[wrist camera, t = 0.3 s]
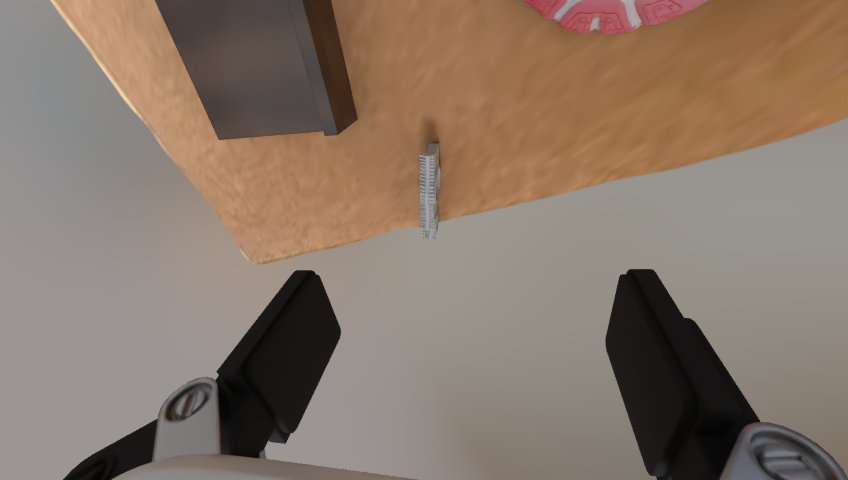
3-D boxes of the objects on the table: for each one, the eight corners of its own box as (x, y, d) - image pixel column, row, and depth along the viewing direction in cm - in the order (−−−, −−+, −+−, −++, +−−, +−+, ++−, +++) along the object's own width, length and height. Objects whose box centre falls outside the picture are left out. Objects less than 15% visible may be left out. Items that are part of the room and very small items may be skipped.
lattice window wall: (439, 228, 46) (432, 253, 41) (426, 226, 46) (418, 252, 41) (441, 140, 39) (434, 158, 34) (426, 139, 39) (417, 157, 34)
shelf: (125, -144, 30) (52, -175, 25) (286, -196, 26) (238, -244, 21) (239, 130, 43) (206, 145, 38) (357, 119, 39) (338, 134, 34)
